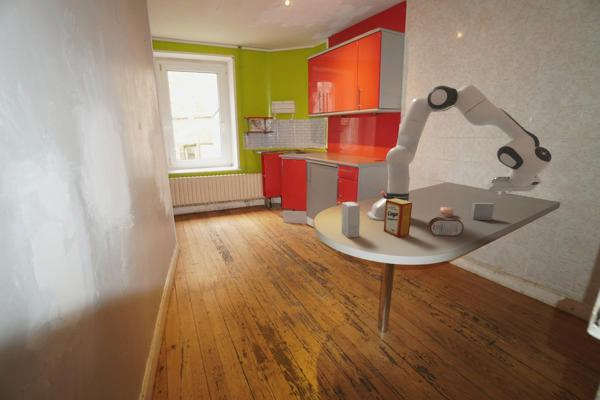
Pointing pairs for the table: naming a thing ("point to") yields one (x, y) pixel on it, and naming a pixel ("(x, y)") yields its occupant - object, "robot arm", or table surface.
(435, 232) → the tin
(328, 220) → the table surface
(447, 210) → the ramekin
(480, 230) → the table surface
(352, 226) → the skincare box
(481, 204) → the tile
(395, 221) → the baking soda box
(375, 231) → the table surface
